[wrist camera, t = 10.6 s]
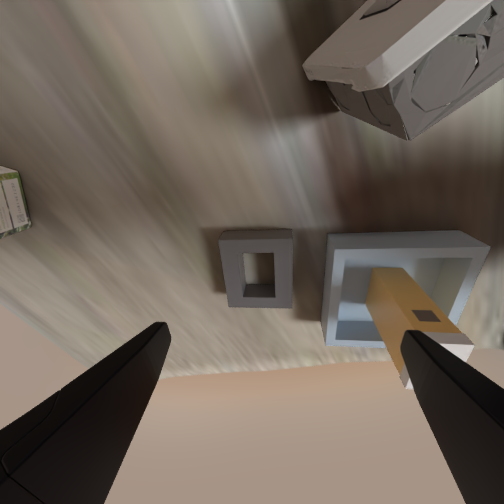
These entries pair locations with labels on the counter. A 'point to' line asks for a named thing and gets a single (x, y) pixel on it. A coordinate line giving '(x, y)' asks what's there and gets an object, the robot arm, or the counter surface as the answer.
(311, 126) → the counter surface
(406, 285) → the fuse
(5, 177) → the syrup box
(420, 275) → the parts tray
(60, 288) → the counter surface
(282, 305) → the block
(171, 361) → the counter surface
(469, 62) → the electrical switch
